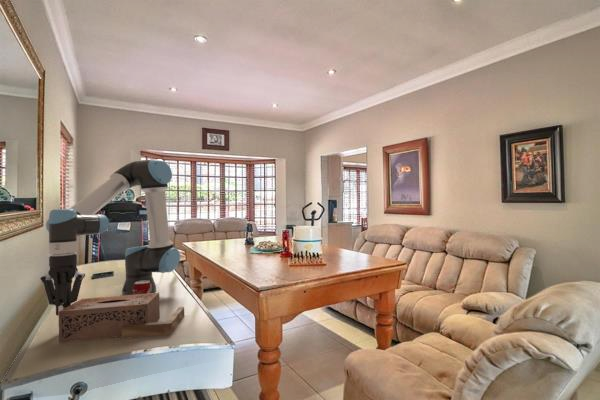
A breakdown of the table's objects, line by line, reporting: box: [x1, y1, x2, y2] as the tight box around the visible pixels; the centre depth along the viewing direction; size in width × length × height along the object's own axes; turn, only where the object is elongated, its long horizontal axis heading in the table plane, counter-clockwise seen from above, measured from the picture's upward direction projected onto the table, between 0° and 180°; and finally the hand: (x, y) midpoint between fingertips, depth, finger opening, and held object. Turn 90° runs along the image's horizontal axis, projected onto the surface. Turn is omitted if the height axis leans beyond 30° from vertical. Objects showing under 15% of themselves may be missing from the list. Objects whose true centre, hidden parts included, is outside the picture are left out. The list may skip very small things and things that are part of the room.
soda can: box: [133, 280, 152, 295], centre depth 123 cm, size 7×7×12 cm
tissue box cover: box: [58, 292, 161, 343], centre depth 105 cm, size 26×14×10 cm, turn 101°
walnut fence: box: [121, 306, 185, 339], centre depth 107 cm, size 17×15×4 cm
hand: (63, 324), depth 104 cm, fingers closed
